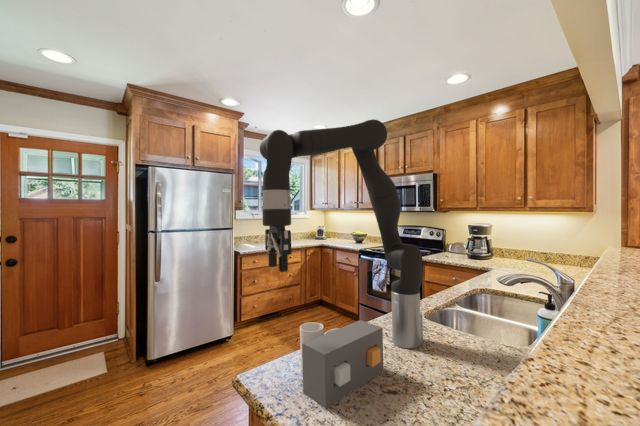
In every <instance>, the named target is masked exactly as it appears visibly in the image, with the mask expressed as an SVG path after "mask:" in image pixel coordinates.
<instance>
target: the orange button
mask: <svg viewBox="0 0 640 426" xmlns="http://www.w3.org/2000/svg"><path fill="white" fill-rule="evenodd" d="M380 362H381V350H380V348H378V347H376V346H372V347H370V348H368V349H367V350H366V364H367V365H369V366H371V367H373V366H375V365H377V364H378V363H380Z"/></svg>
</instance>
